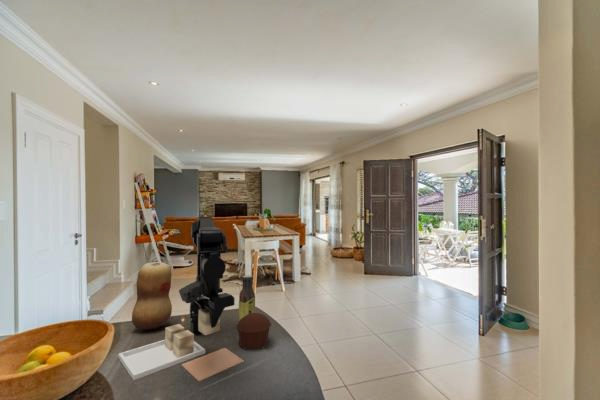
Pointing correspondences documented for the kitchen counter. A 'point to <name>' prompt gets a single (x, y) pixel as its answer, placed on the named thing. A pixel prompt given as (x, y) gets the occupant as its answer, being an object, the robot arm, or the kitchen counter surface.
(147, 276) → the butternut squash
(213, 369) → the terracotta tile
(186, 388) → the kitchen counter surface
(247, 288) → the sauce bottle
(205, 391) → the kitchen counter surface
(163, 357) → the white shallow tray
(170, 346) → the plain box
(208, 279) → the robot arm
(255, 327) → the muffin
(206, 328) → the labelled box
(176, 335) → the plain box
